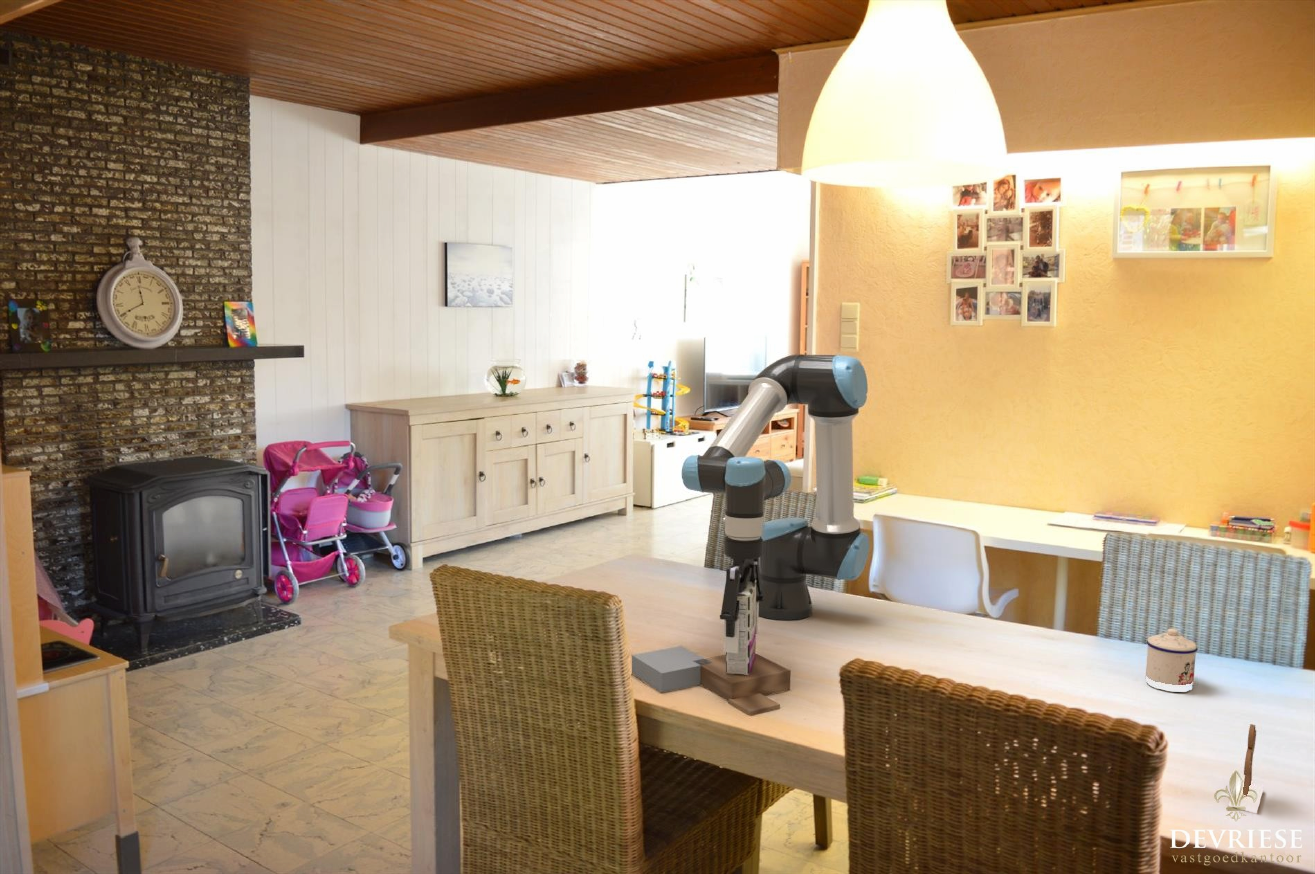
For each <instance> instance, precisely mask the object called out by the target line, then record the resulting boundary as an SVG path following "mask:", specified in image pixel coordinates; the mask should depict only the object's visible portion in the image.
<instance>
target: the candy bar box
mask: <svg viewBox="0 0 1315 874" xmlns="http://www.w3.org/2000/svg"><path fill="white" fill-rule="evenodd" d="M738 600H739V613H738V619H737V620H739V652H738V653H737V654H736V653H729V652H725V654H726V674H730V675H746V676H749V675H750V672H751V669H752V666H753V663H754V660H755V657H756V654H757V653H756V652H757V650H756V649H757V647H756V644H757V638H756V637H757V634H756V580H755V581H754V582H748V584H747V588H746V589H744V591H743V592H742V593H738V598H737V601H738ZM729 614H731V613H729Z"/></svg>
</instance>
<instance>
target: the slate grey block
mask: <svg viewBox="0 0 1315 874" xmlns="http://www.w3.org/2000/svg"><path fill="white" fill-rule="evenodd" d="M700 659H702V661H703V659H705V657H703V656H701V655H700V654H697V653H695V652H694V651H692V650H691V649H688V648H686V647H684V646H682V645H678V646H673V647H668V648H663V649H657V650H652V651H647V652H642V653H637V654H631V675H633V676H634V677H635V678H637V679H639V680H640V681H642V682H643V683H645V684H647V685H648V686H650V687H651V688H653V689H654V690H656V691H657V692H660V693H661V694H664V693H668V692H672V691H677V690H683V689H689V688H692V687H697V686H701V685H700V671H701V665H703V664H704V662H701V663H703V664H701V663H700V664H701V665H700V664H697V663H695V662H693V661H696V660H698V661H701V660H700ZM706 661H707V660H706ZM708 662H709V661H708ZM705 663H706V662H705ZM709 663H712V662H709ZM709 663H708V664H709ZM705 665H706V664H705Z"/></svg>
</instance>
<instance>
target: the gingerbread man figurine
mask: <svg viewBox="0 0 1315 874" xmlns="http://www.w3.org/2000/svg"><path fill="white" fill-rule="evenodd" d="M1249 725H1250V726H1249V729H1248V736H1247V750H1246V753H1245V759H1244V767H1243V775H1244V780H1243V782H1244V787H1243V794H1244V795H1246V796H1247V794H1248V791H1249V786H1250V785H1251V781H1252V780H1253V778H1252V777H1253V775H1252V774H1253V759H1254V753H1255V746H1256V740H1257V730H1256V724H1253V723H1251V724H1249Z"/></svg>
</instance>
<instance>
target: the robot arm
mask: <svg viewBox="0 0 1315 874" xmlns="http://www.w3.org/2000/svg"><path fill="white" fill-rule="evenodd" d="M868 391H869V389H868V378H867V373H866V370H865V368H864V365H863V364H862V362H861V361H860V360H859V359H858V358H856V357H855V356H848V355H847V356H846V355H841V354H803V353H802V354H801V353H800V354H799V353H798V354H797V353H795V354H791V355H787V356H784V357H781V358H780V359H777V360H776V361H774V362H772V363H770V364H769V365H768V366H766V367H765V368H763V369H762V370H761V371H760V372H759V373H758V374H757V375H755V377H754V378H753V380H752V381H751V383H750V384H749V386H748V391H747V393H748V394H747V395H746V397H745V398H744V400H743V401H742V403H740V405H739V407H737V409H736V411H735V412H734V413H733V414H732V416H730V417H731V418H730V419H729V420H728V421H727V423H726V424H725V426H724V427H723V428H722V429H721V431H720V432H719V433H718V435H717V436H716V438H714V440H713V442H712V443H711V444H710V446H709V447H708V448H707V450H705V451H704V453H703V454H702V455H700V454H696V455H695V454H694V455H689V456H687V457H686V458H685V460H684V462H683V464H682V467H681V479H682V483H683V486H684V487H685V488H686V489H687V490H691V491H696V492H700V493H707V494H719V495H725V497H724V498H725V508H724V509H725V511H724V516H725V517H722V518H723V519H722V522H723V523H724V534H725V535H726V536H725V537H724V542H723V543H724V544H723V545H724V546H723V548H724V549H723V550H724V551H723V552H724V555H725V556H726V557H728V558H731V559H732V564H731V566H730V567H727V568H726V570H725V571H726V574H725V577H726V578H725V585H724V589H723V590H724V591H723V596H722V604H721V610H720V611H721V612H720V615H719V620H724V628H723V629H724V630H723V632H724V635H723V637H724V638H723V645H724V646H723V652H724V653H726V652H729V653H736V654H737V653H738V652H739V620H737V619H738V613H739V600H738V601H737V598H738V593H742V592H743V591H744V589H746V588H747V584H748V582H754V581H755V580H756V635H757V634H759V617H761V618H766V619H772V620H780V621H781V620H784V621H791V620H792V621H793V620H801V619H804V618H808V617H809V616H811V615H812V614H813V601H812V598H811V595H810V591H809V587H808V584H807V576H808V575H810V576H813V577H814V576H816V577H822V578H827V579H828V578H829V579H833V580H837V581H842V580H843V581H854V580H857V579H858V578H859V577H860V576H861V575H862V573H863V571H864V569H865V566H866V563H867V561H868V557H869V553H870V538H869V535H868V534H867V533H865V532H861V522H860V521H859V520H858V519H857V518H855V516H854V515H855V514H854V513H855V512H854V511H855V510H854V506H855V505H854V464H853V463H854V462H853V461H854V457H853V456H854V455H853V454H854V452H853V451H854V450H853V420H854V419H855V418H856V417H857V416H858V415H859V413H860V412H859V409H860V408H862V407H864V406H865V404H866V402H867V398H868V396H867V395H868ZM795 404H796V405H797V404H798V405H807V415H808V416H809V417H810V418H811V419H812V420H813V421H814V435H815V436H814V437H815V438H814V442H815V476H816V477H815V480H816V482H815V483H816V518H815V519H814V520H812V521H811V524H810V526H809V522H808V520H807V519H806V518H802V517H787V518H777V519H773V520H769V521H766V522H764V505H765V501H767V500H770V499H774V498H778V497H779V496H780V495H783V493H785V492H786V491H787V490H788V489H789V488H790V485H791V482H792V475H791V472H790V469H789V467H788V466H787V464H785V463H784V462H783V461H781V460H778V459H766V460H764V459H762V458H760V457H756V456H755V457H754V456H747V455H748V453H749V452H750V450H751V449H752V447H753V446H754V444H755V443H756V442H757V440H758V439H759V437H760V436H761V434H762V433H763V432H764V430H765V428H766V427H767V426H768V424H769V423H770V421H772V419H773V417H774V416H775V414H778V413H780V412H782V411H783V410H784V409H785V408H786V406H788V405H795ZM729 613H731V614H729Z"/></svg>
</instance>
